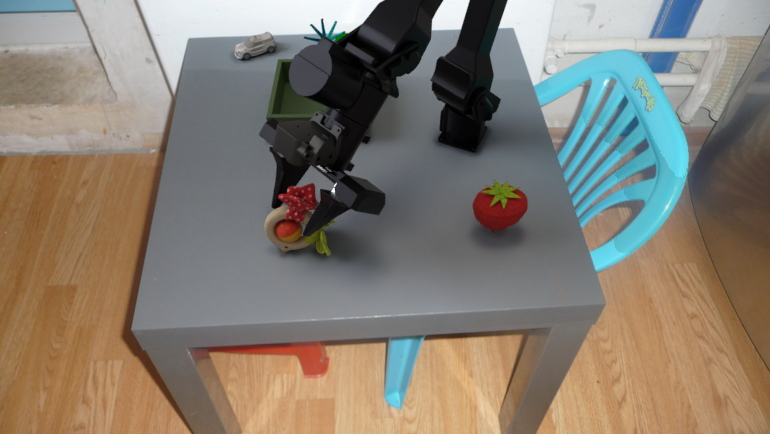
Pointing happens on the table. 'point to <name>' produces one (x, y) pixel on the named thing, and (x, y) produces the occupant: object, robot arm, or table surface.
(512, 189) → the strawberry
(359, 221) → the table surface
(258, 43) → the toy car
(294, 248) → the bird rattle
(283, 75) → the bin
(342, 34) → the stick construction toy
